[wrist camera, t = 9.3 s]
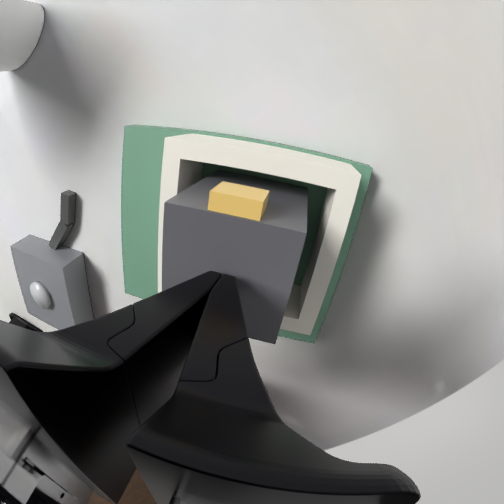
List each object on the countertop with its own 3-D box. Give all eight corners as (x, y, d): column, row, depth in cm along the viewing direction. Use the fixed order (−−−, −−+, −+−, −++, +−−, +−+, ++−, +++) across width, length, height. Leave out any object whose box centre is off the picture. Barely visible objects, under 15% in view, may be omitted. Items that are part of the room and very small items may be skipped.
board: (314, 333, 18) (313, 378, 15) (132, 285, 20) (101, 317, 16) (368, 165, 14) (388, 180, 10) (134, 124, 15) (90, 130, 11)
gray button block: (94, 322, 23) (76, 343, 20) (43, 299, 23) (25, 314, 21) (78, 191, 17) (50, 204, 15) (24, 182, 18) (-2, 192, 15)
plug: (288, 267, 16) (275, 343, 10) (209, 248, 16) (161, 313, 11) (310, 176, 13) (311, 213, 8) (220, 157, 14) (165, 183, 8)
